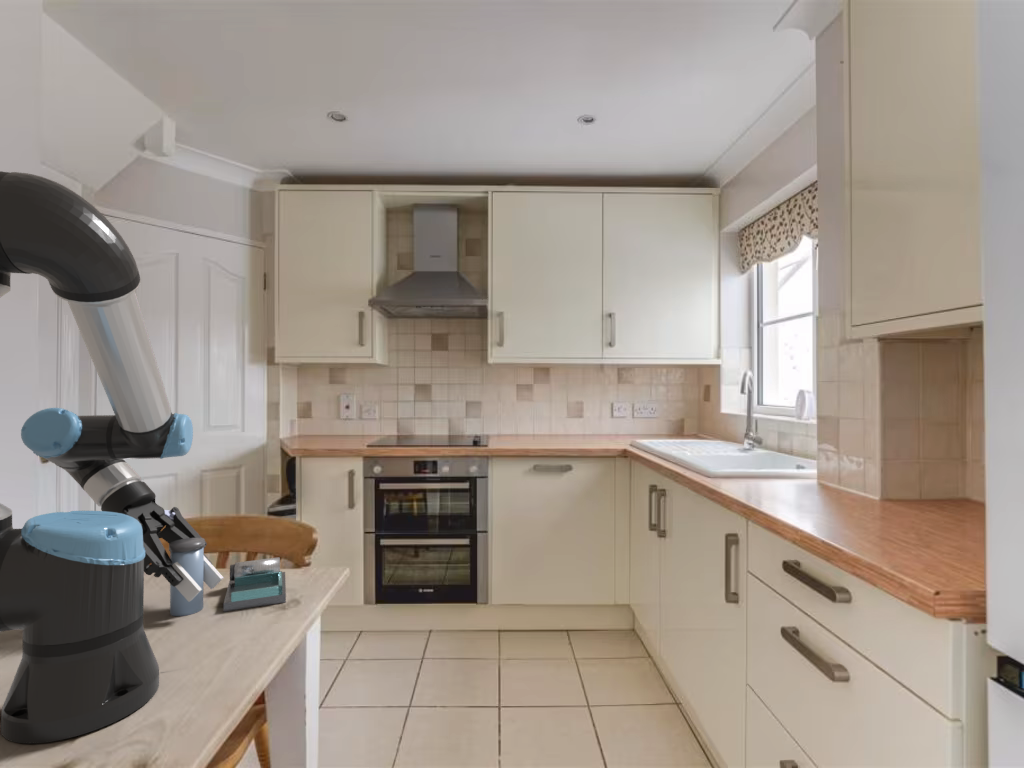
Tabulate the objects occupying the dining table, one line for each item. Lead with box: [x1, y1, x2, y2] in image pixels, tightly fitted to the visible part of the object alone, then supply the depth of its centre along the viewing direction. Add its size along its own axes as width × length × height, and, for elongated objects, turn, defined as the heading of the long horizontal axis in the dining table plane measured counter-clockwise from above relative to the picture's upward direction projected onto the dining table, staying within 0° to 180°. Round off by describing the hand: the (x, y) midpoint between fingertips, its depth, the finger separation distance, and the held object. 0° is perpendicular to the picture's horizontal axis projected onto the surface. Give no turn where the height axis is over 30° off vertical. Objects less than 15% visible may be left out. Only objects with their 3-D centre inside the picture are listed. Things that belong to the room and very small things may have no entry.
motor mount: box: [223, 557, 287, 612], centre depth 100 cm, size 13×10×5 cm
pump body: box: [168, 537, 206, 617], centre depth 93 cm, size 5×5×12 cm
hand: (206, 589), depth 92 cm, fingers closed on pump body, 5 cm apart
